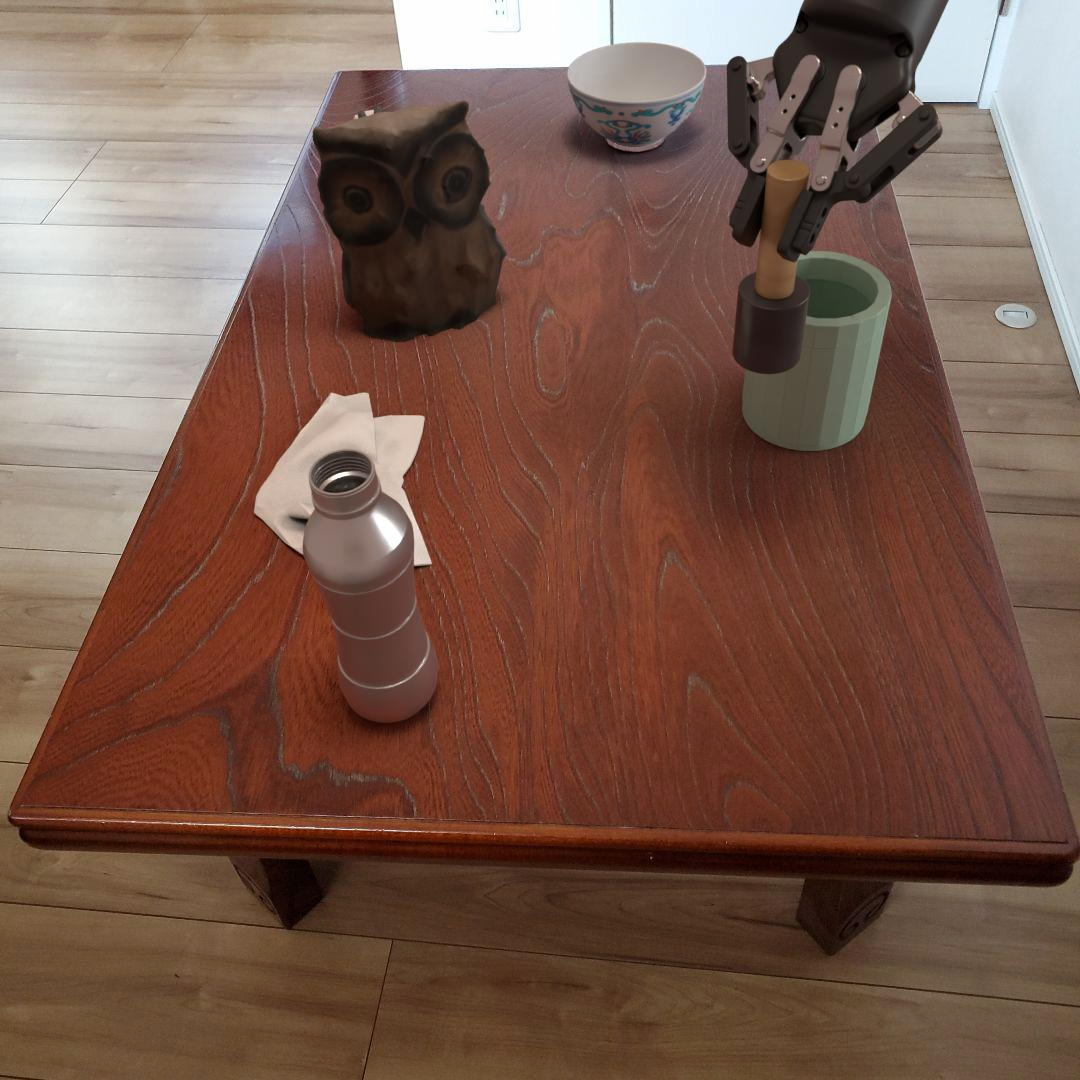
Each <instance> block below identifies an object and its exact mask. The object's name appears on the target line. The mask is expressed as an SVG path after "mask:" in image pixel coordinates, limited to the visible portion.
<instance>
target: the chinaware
mask: <svg viewBox="0 0 1080 1080" xmlns="http://www.w3.org/2000/svg"><path fill="white" fill-rule="evenodd" d="M706 78H707V67H706V64H705V62H704V61H703V60H702V59H701V58H700V57H699V56H698V55H697V54H695V53H693V52H692V51H689V50H687V49H684V48H683V47H682V48H681V47H679V46H677V45H676V46H675V45H671V44H667V43H660V42H649V41H648V42H647V41H635V42H622V43H621V42H620V43H614V44H608V45H604V46H600V47H597V48H594V49H592V50H588V51H587V52H585V53H582V54H581V55H580V56H578V57H577V58H575V59H574V60H573V61H572V62H571V63H570V64H569V66H568V68H567V70H566V79H567V80H566V81H567V84H568V89H569V92H570V95H571V98H572V101H573V104H574V106H575V107H576V110H577V111H578V113H579V114H580V116H581V117H582V119H583V120H584V122H585V123H586V124H587V125H588V126H589V127H590V128H591V129H592V130H594V131H595V132H596V133H597V134H599V135H600V136H602V137H604V138H605V139H606V138H607V139H608V140H610V141H611V142H613V143H616V144H618V145H622V146H625V147H626V146H628V147H647V146H650V145H653V144H656V143H658V142H660V141H661V140H662V139H663V138H664V137H665V138H666V137H668V136H669V135H671V134H672V133H674V132H675V131H676V130H678V129H679V128H680V127H681V126H682V125H683V124H684V123H685V121H687V119H688V118H689V117H690V115H691V114H692V113H693V112H694V109H695V108H696V106H697V104H698V102H699V99H700V97H701V95H702V92H703V89H704V86H705V82H706Z"/></svg>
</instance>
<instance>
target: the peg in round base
mask: <svg viewBox="0 0 1080 1080" xmlns="http://www.w3.org/2000/svg"><path fill="white" fill-rule="evenodd" d="M810 172H811V171H810V168H809V166H808V165H807V164H805V163H804V162H801V161H798V160H793V159H792V160H780V161H776V162H774V163H772V164H770V165H769V166H768V168H767V175H766V184H765V194H764V203H763V213H762V222H761V229H760V232H759V243H758V250H757V259H756V260H757V261H756V270H755V272H752V273H750V274H748V275H746V276H745V277H743V278H742V279H741V280H740V282H739V284H738V286H737V287H738V288H737V297H736V308H735V318H734V331H733V341H732V350H731V351H732V357H733V359H734V361H735V362H736V363H737V364H738V365H739V366H740V367H742V368H743V369H744V370H745V369H747V370H749V371H752V372H755V373H760V374H778V373H782V372H785V371H788V370H790V369H792V368H793V367H794V366H795V365H796V364H797V363H798V362H799V360H800V356H801V350H802V343H803V336H804V329H805V323H806V316H807V309H808V302H809V296H810V289H809V286H808V284H807V283H806V282H805V281H804V280H803V279H802V278H801V277H799V276H797V275H796V269H797V262H798V260H797V261H796V262H795V263H794V262H791V261H788V260H785V259H783V258H782V257H781V256H780V255H779V254H778V253H777V245H778V242H779V240H780V238H781V236H782V233H783V231H784V229H785V227H786V225H787V222H788V220H789V218H790V216H791V213H792V211H793V209H794V207H795V205H796V202H797V200H798V198H799V196H800V193H801V191H802V190H803V189H804V190H808V189H809V187H808V186H809V182H810Z"/></svg>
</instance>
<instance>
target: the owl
mask: <svg viewBox="0 0 1080 1080" xmlns="http://www.w3.org/2000/svg"><path fill="white" fill-rule="evenodd" d="M469 108H470V103H469V102H468V101H466V100H460V101H451V102H444V103H441V104H440V103H438V104H433V105H418V106H410V107H403V108H400V109H397V110H395V111H382V112H379V113H375V114H372V115H369V116H365V117H361V118H357V119H354V118H353V119H354V120H353V119H350V120H348V121H346V122H343V123H339V124H336V125H331V126H329V127H322V126H318V125H316V126H314V128H313V130H312V132H311V133H312V142H313V145H314V147H315V149H316V151H317V153H318V157H319V159H320V161H319V162H320V170H319V173H318V175H317V176H318V177H317V182H316V183H317V185H316V187H317V189H318V192H319V200H320V202H321V204H322V205H323V210H322V215H323V217H324V219H325V221H326V223H327V224H328V226H329V228H330V230H331V232H332V234H333V235H334V237H335V238H336V239H337V241H338V243H339V246H340V248H341V251H342V252H341V253H342V255H341V256H342V257H341V281H342V292H343V297H344V300H345V302H346V304H347V305H348V306H349V307H350V308H352V309H354V310H356V311H357V312H358V314H359V316H360V317H361V321H362V322H361V323H362V332H363V334H364V335H365V336H366V337H369V338H377V339H379V340H387V341H393V342H407V341H410V340H412V339H414V338H415V337H418V336H421V335H422V334H426V335H428V336H430V337H431V336H434V335H437V334H438V333H440V332H442V331H445V330H450V329H452V328H453V329H456V330H461V329H463V328H465V327H466V326H467V325H469V324H471V323H473V322H475V321H476V320H478V317H479V316H480V315H481V314H483V312H485V311H486V310H487V309H489V308H490V307H491V306H493V305H495V304H497V298H496V292H497V288H498V285H499V281H500V277H501V271H502V267H503V266H502V265H503V262H504V259H505V258H506V256H507V254H508V253H507V250H506V249H505V247H504V245H503V243H502V241H501V238H500V236H499V235H498V233H497V229H496V228H495V227H494V225H493V222H492V220H491V219H490V218H489V215H488V214H487V213H486V210H485V205H484V204H482V201H483V198H484V197H485V195H486V194H487V191H488V190H489V187H490V186H491V184H492V183H491V180H490V174H491V171H490V165H489V163H488V160H487V159H488V158H487V157H486V154H485V148H483V147H482V146H481V145H480V144H479V142H478V141H477V139H476V137H475V136H474V134H473V132H472V131H471V129H470V128H469V125H468V123H467V115H468V113H469V110H470V109H469Z"/></svg>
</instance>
